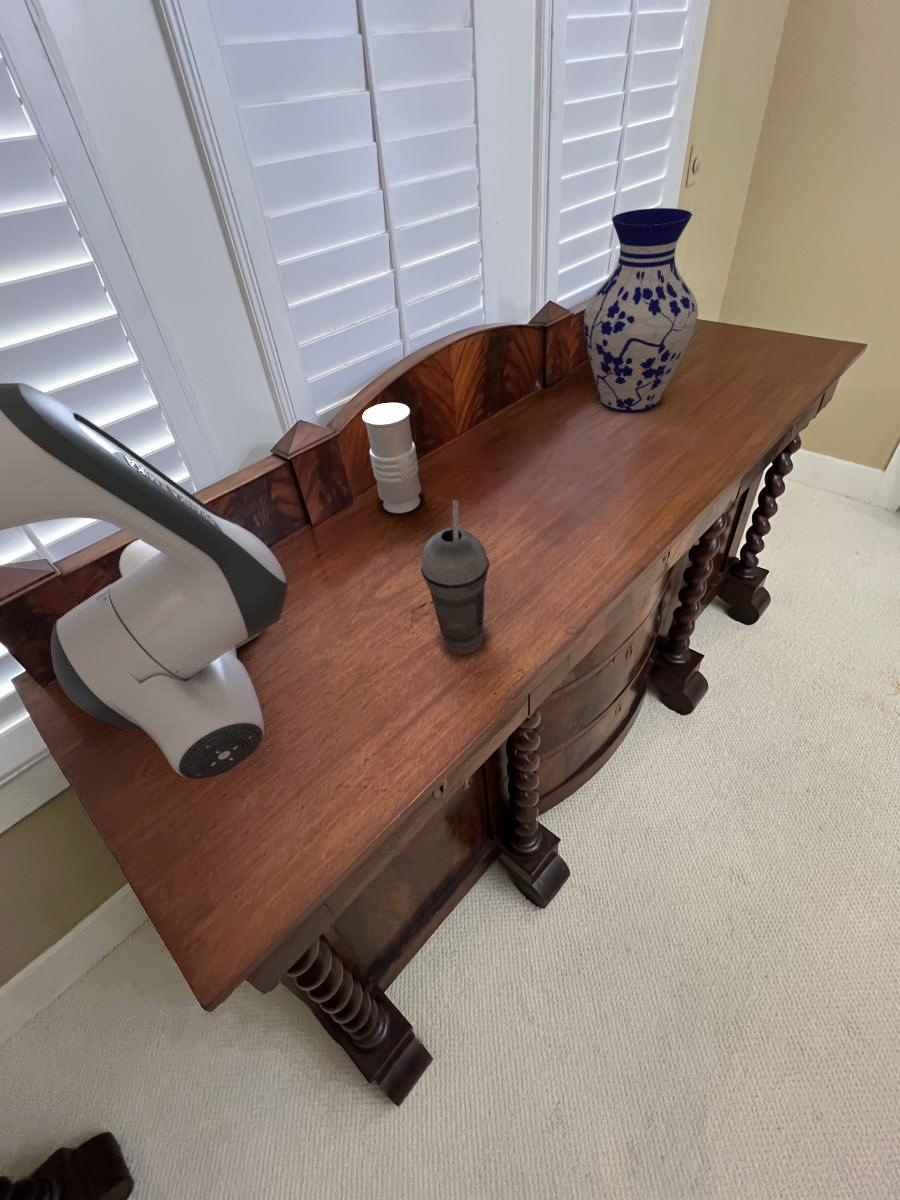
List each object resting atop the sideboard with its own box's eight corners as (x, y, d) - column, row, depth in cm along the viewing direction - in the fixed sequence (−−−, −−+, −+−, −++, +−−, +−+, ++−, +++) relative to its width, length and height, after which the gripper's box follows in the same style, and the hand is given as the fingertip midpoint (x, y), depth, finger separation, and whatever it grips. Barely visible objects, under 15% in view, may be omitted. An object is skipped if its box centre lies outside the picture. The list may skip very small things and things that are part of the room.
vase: (583, 379, 121) (595, 207, 101) (681, 380, 116) (713, 200, 96) (573, 421, 108) (583, 233, 87) (682, 424, 103) (720, 226, 83)
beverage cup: (464, 609, 73) (449, 469, 60) (506, 638, 69) (500, 494, 56) (420, 641, 70) (394, 500, 57) (462, 673, 66) (444, 528, 52)
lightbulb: (143, 619, 72) (98, 548, 64) (188, 591, 75) (151, 520, 68) (168, 641, 68) (124, 569, 61) (215, 610, 72) (178, 538, 64)
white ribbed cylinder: (393, 520, 89) (375, 429, 79) (372, 501, 94) (353, 412, 84) (431, 504, 92) (419, 413, 82) (409, 486, 96) (395, 398, 86)
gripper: (270, 579, 60) (233, 519, 70) (59, 667, 54) (49, 588, 63) (287, 622, 65) (250, 560, 74) (93, 709, 58) (79, 629, 67)
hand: (156, 574), depth 68 cm, fingers closed on lightbulb, 6 cm apart
